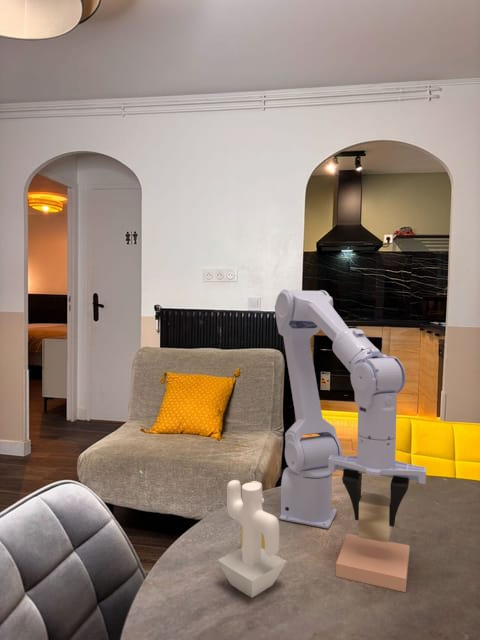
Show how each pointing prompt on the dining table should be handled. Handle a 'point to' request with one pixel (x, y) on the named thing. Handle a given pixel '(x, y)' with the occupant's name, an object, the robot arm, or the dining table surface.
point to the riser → (374, 562)
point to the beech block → (374, 517)
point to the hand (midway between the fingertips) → (374, 520)
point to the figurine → (252, 541)
